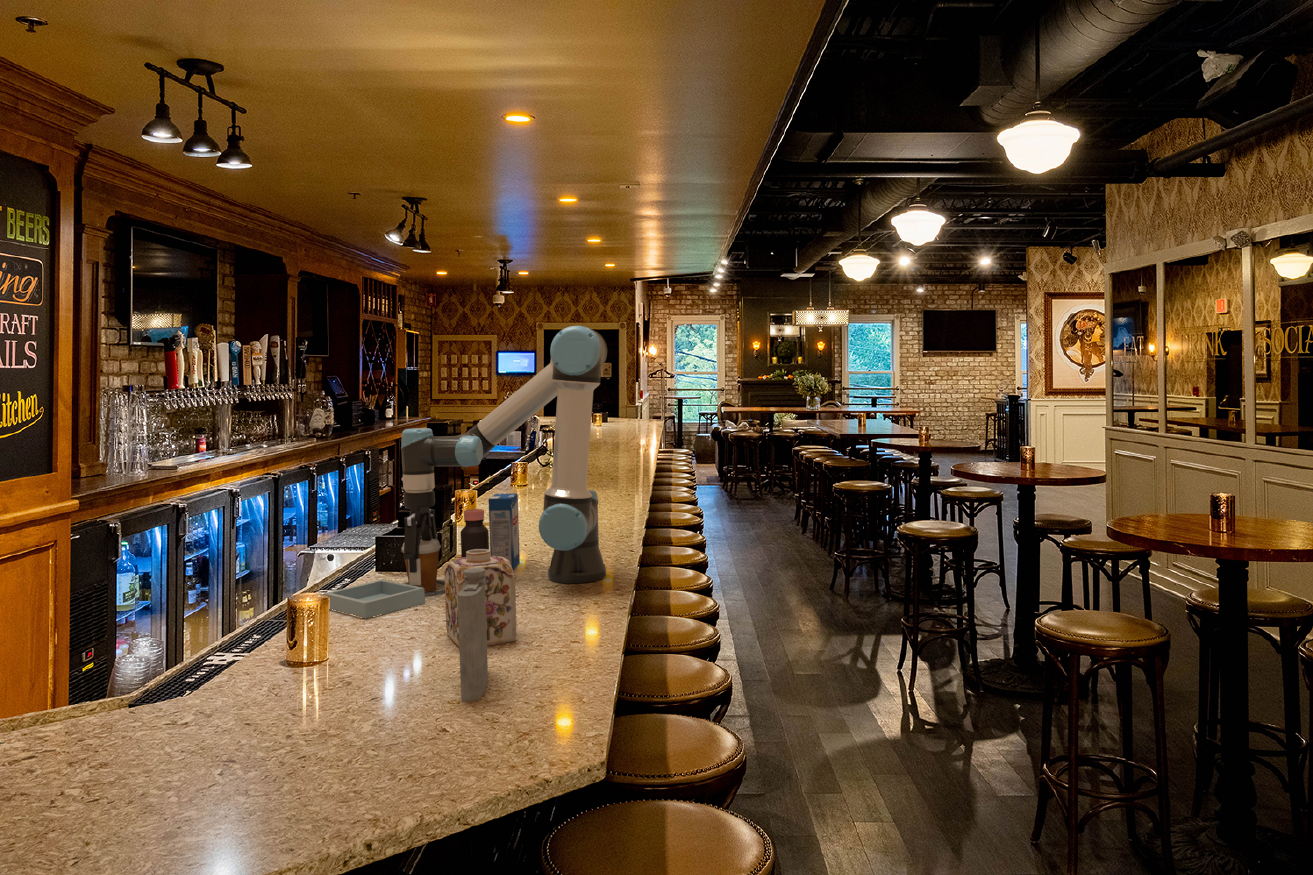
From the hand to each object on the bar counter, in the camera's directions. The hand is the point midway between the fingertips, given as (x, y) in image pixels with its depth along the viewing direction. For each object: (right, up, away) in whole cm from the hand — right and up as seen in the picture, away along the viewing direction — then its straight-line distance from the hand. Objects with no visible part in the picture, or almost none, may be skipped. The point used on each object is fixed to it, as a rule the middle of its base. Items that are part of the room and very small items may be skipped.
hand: (422, 580), depth 211 cm
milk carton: (+17, -1, +24) cm, 29 cm away
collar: (0, -2, 0) cm, 2 cm away
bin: (-7, -4, -14) cm, 16 cm away
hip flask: (+28, -7, -66) cm, 72 cm away
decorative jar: (+23, -5, -41) cm, 47 cm away
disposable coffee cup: (0, -3, 0) cm, 3 cm away
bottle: (+14, -2, -1) cm, 14 cm away
